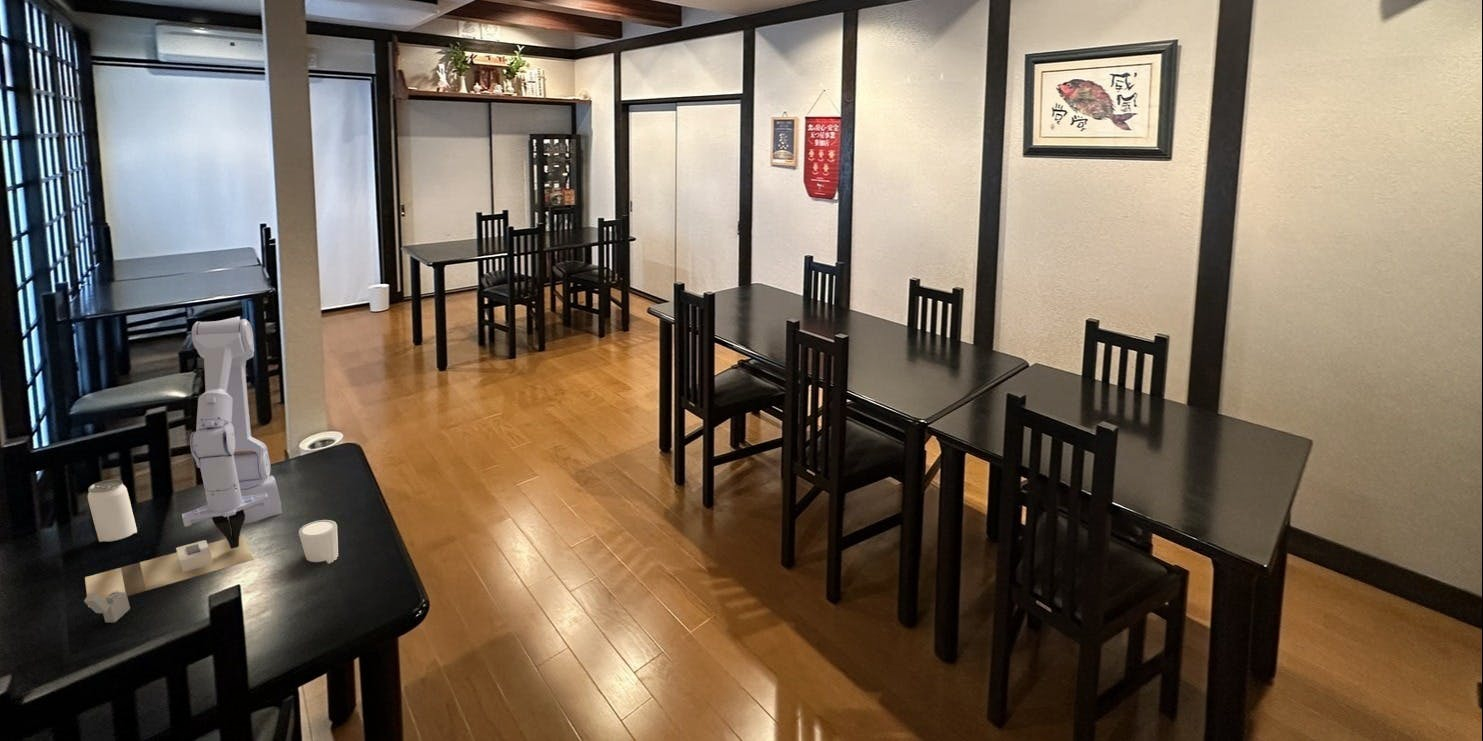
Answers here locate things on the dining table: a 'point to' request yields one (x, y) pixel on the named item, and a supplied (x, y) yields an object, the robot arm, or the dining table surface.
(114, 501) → the can
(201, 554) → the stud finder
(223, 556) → the board
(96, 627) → the dining table surface
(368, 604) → the dining table surface
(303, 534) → the white cup
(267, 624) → the dining table surface
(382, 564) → the dining table surface
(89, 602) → the lighter
